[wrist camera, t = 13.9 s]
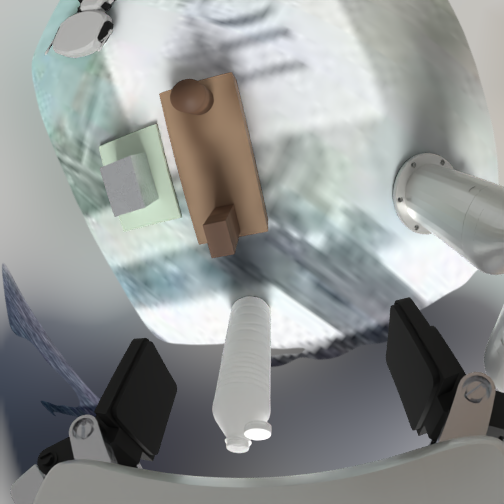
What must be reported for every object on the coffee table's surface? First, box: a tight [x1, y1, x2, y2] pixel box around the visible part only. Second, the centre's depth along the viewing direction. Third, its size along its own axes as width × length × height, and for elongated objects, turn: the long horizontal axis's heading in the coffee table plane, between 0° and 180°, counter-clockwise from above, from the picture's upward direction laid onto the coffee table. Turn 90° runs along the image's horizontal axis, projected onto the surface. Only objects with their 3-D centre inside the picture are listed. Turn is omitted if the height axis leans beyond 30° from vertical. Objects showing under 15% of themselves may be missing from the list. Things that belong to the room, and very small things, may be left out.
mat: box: [99, 124, 182, 232], centre depth 38 cm, size 10×14×1 cm
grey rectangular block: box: [100, 152, 159, 217], centre depth 35 cm, size 5×7×5 cm
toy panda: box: [45, 0, 115, 58], centre depth 25 cm, size 12×4×15 cm
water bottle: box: [212, 296, 271, 453], centre depth 34 cm, size 9×6×25 cm
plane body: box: [159, 72, 268, 258], centre depth 31 cm, size 9×20×12 cm, turn 12°
